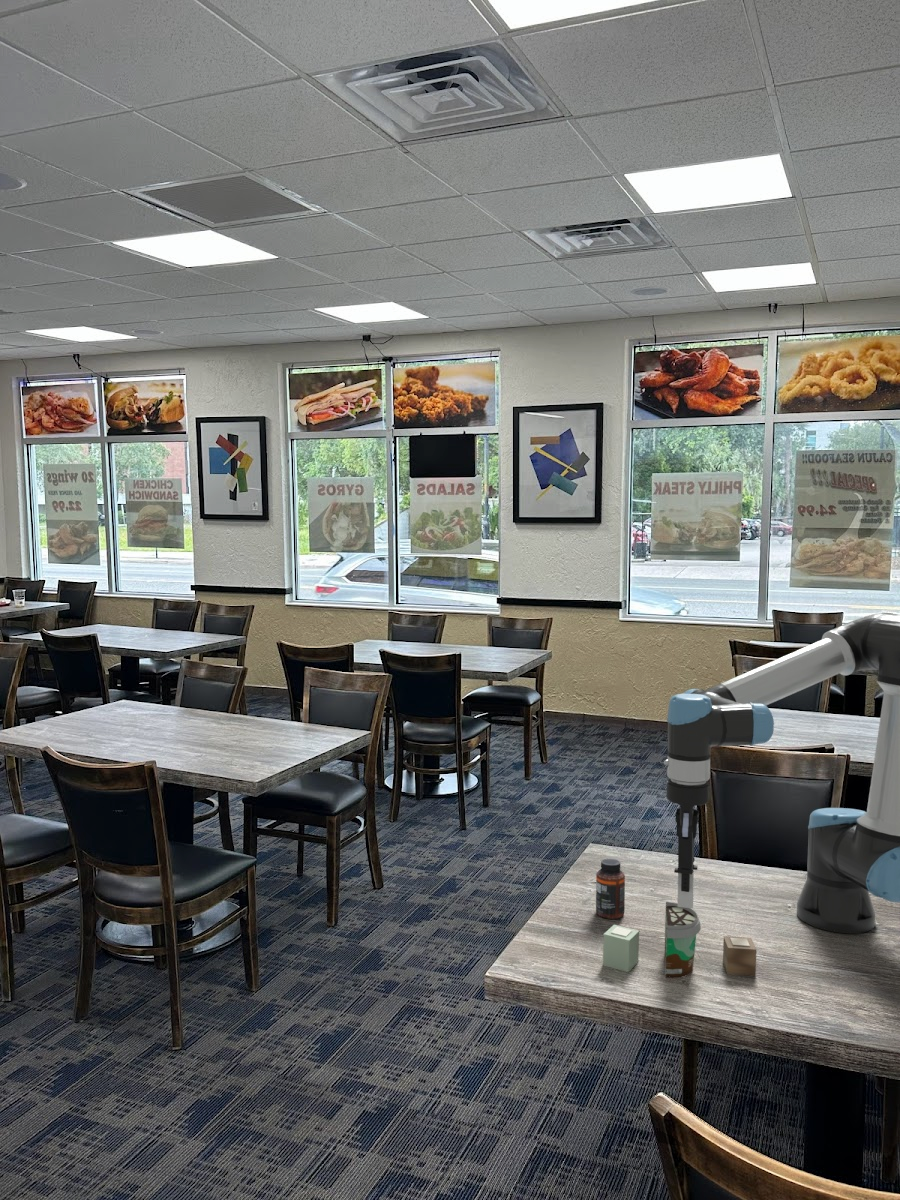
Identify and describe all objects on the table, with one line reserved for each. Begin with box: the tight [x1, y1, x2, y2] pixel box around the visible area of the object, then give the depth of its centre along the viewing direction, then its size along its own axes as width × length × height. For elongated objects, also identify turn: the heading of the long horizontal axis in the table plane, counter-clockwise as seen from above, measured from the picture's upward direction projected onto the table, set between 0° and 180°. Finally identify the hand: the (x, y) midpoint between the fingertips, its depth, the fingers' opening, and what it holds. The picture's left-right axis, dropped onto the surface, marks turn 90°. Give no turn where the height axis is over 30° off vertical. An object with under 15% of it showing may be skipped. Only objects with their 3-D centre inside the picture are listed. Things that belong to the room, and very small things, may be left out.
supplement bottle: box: [595, 858, 626, 920], centre depth 197 cm, size 6×6×11 cm
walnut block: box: [722, 935, 757, 977], centre depth 174 cm, size 5×5×5 cm
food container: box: [664, 901, 702, 979], centre depth 173 cm, size 12×6×10 cm, turn 168°
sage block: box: [602, 924, 640, 973], centre depth 175 cm, size 5×5×6 cm
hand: (685, 905), depth 173 cm, fingers closed
